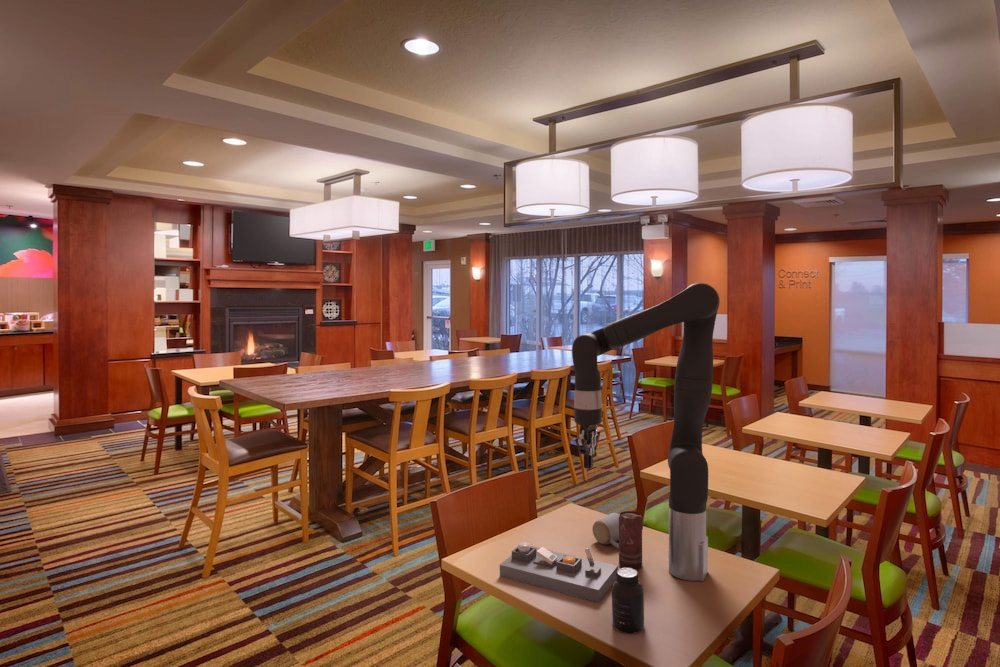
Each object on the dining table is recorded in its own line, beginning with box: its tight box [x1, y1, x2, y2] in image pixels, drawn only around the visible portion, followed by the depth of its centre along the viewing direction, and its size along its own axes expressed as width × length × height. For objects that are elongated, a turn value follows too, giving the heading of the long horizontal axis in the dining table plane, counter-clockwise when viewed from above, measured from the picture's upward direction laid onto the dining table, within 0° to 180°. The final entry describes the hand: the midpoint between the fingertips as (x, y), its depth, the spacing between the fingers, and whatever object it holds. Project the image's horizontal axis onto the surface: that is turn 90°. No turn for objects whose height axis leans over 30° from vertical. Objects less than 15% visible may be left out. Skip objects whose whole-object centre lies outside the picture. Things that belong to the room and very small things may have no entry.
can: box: [618, 510, 644, 571], centre depth 150 cm, size 6×6×14 cm
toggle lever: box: [584, 547, 595, 567], centre depth 140 cm, size 1×1×5 cm
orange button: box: [563, 555, 575, 565], centre depth 143 cm, size 3×3×2 cm
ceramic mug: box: [592, 512, 620, 549], centre depth 165 cm, size 11×8×8 cm
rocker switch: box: [536, 546, 557, 565], centre depth 146 cm, size 5×3×1 cm
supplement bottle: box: [611, 567, 645, 634], centre depth 122 cm, size 7×7×12 cm
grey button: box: [517, 542, 531, 554], centre depth 150 cm, size 3×3×2 cm
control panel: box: [499, 545, 619, 603], centre depth 145 cm, size 27×14×5 cm, turn 60°
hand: (588, 467), depth 155 cm, fingers closed
